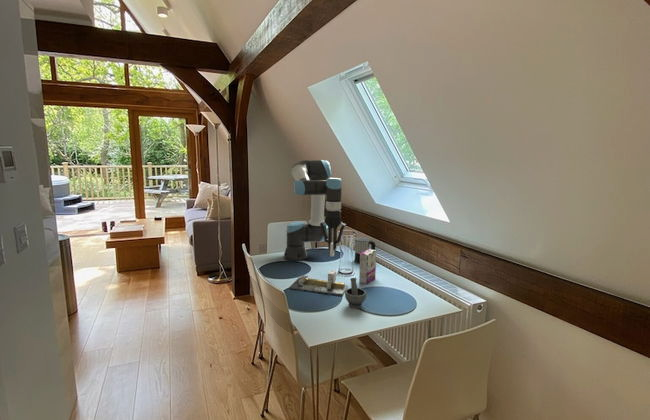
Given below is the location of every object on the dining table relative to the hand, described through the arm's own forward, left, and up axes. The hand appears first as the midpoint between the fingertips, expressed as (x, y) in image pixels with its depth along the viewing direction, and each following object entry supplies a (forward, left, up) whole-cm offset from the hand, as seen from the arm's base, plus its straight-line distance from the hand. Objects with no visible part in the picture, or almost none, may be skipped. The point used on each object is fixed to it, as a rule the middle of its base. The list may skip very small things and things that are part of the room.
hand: (332, 255), depth 176 cm
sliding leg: (-2, -1, -17) cm, 17 cm away
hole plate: (-1, -7, -18) cm, 20 cm away
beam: (-1, -6, -17) cm, 19 cm away
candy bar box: (-20, +15, -19) cm, 31 cm away
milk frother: (-55, +5, -19) cm, 59 cm away
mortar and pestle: (+13, +15, -19) cm, 27 cm away
